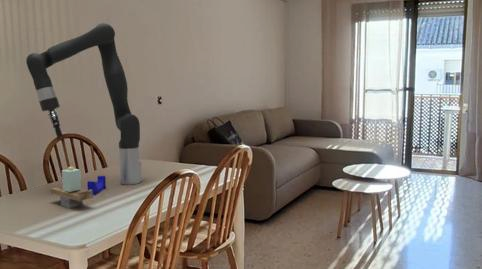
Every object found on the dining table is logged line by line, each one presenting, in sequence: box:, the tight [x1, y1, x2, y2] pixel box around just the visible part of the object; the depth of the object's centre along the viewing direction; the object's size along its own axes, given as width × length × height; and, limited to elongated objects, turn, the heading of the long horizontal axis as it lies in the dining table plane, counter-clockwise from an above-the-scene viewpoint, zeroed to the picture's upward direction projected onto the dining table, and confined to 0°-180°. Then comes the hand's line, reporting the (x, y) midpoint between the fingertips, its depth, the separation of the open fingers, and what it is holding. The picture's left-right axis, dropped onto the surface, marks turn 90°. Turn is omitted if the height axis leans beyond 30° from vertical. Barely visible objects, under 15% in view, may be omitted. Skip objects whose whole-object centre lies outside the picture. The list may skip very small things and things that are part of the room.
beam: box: [49, 185, 94, 209], centre depth 185 cm, size 6×20×7 cm, turn 53°
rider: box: [61, 166, 82, 192], centre depth 183 cm, size 5×5×9 cm
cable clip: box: [86, 175, 107, 196], centre depth 206 cm, size 12×4×6 cm, turn 173°
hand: (60, 136), depth 203 cm, fingers closed
